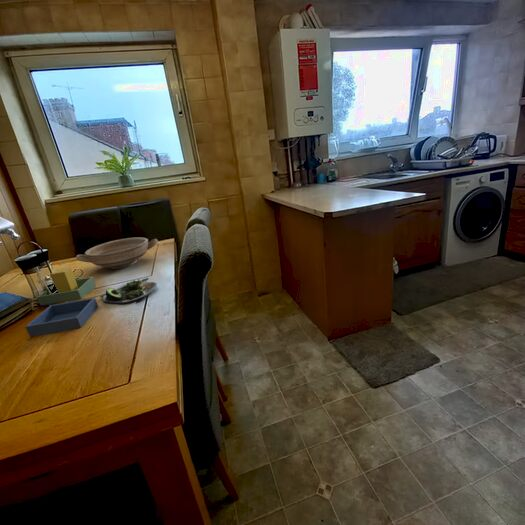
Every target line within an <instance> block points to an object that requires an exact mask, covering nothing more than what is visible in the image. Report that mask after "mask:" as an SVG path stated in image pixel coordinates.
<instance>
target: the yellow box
mask: <svg viewBox="0 0 525 525" xmlns="http://www.w3.org/2000/svg"><path fill="white" fill-rule="evenodd" d="M73 272H74V271H73V269H72V267H64V268H58V269H55V270H54V271H53V272H51V273H50V277H51V280H52V283H53V285H55V287H56V289H57V292H58V293H61V292H67V291H73V290H77V289H79V288H78V285H77V282H76V280H77V279H76V278H75V274H74V273H73Z"/></svg>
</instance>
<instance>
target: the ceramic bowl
mask: <svg viewBox="0 0 525 525" xmlns="http://www.w3.org/2000/svg"><path fill="white" fill-rule="evenodd" d="M157 244H158V239H157V238H153V239H151V240H150V241H149V239H148V238H146V237H141V236H139V237H136V236H135V237H127V238H120V239H115V240H110V241H108V242H104V243H101V244H97V245H95V246H93V247H91V248H89V249H87V250H86V251H85V252H84V254H81V253H80V254H77V255H76V256H75V259H76V260H77V261H79V262H83V263H91V264H92V265H95V266H97V267H104V268H105V267H107V268H109V269H110V268H111V270H119V269H123V268H128V267H130V266H132V265H134V264H136V263H137V262H138V260H139V259H140V258H142V257H143V256H144V255H146V254H147V252H148V251H149V250H151V249H152V248H154V247H155V246H156V245H157ZM118 268H119V269H118Z"/></svg>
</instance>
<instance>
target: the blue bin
mask: <svg viewBox="0 0 525 525" xmlns="http://www.w3.org/2000/svg"><path fill="white" fill-rule="evenodd" d="M98 308H99V305H98V301H97V300H96V297H91V298H84V299H78V300H72V301H66V302H61V303H55V304H49V306H48V307H47V308H46V309H44V310H42V312H41V313H40V314H38V315H37V316H36V317H35V318H34V319H32V320H31V321H29V323H28V324H26V326H25V330H26V331H27V334H28V336H29V337H30V338H33V337H39V336H44V335H50V334H54V333H61V332H65V331H71V330H77V329H82V328H83V326H84V325H85V324H86V323H87V322H88V320H89V319H90V318H91V317H92V316H93V314H94V313H95V312H96V311H97V310H98Z"/></svg>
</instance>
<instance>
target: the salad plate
mask: <svg viewBox="0 0 525 525" xmlns="http://www.w3.org/2000/svg"><path fill="white" fill-rule="evenodd" d="M148 280H149V277H146V278H142V279H140V278H137V280H133V281H130V282H126V284H122V285H121V286H120V287H117V288H112V287H111V288H107V289H106V290H105V293H104V294H101V295H100V296H99V298H101V299H102V302H103V303H104V304H108V305H119V306H122V305H124V306H125V305H130V304H133V303H135V304H137V303H139V302H141V301H143V300H144V299H145V298H147V297H148V296H150V295H151V293H153V292H154V290H155V289H157V287H158V283H157V282H156V281H150V282H149V281H148Z"/></svg>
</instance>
